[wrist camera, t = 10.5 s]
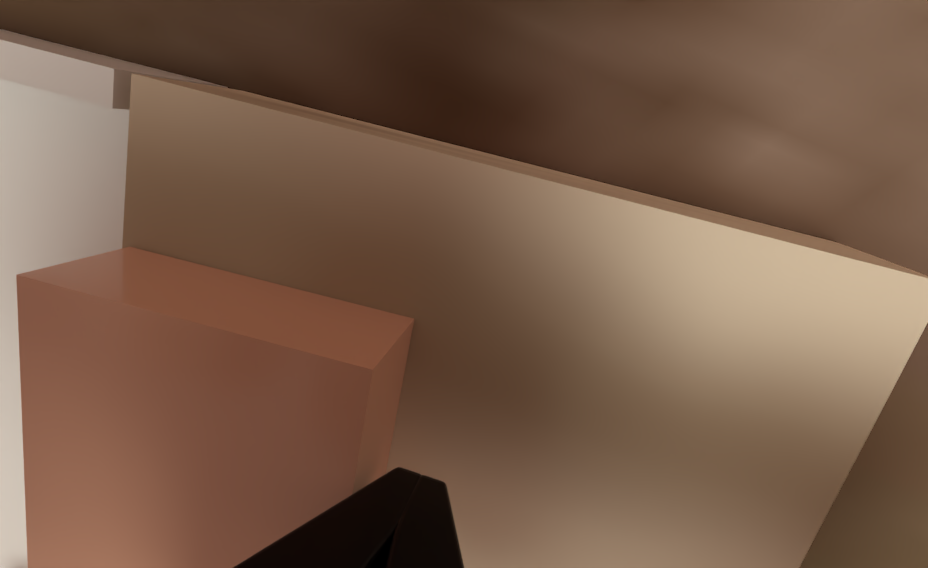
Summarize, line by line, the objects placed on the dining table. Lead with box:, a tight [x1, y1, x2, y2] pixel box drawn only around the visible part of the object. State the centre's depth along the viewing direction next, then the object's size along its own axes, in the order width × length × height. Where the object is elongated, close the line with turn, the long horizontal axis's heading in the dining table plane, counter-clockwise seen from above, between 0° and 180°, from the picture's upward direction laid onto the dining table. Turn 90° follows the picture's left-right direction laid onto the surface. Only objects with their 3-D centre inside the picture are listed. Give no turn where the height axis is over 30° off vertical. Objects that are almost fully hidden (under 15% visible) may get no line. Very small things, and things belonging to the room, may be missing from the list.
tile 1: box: [16, 247, 414, 568], centre depth 9 cm, size 5×5×2 cm
